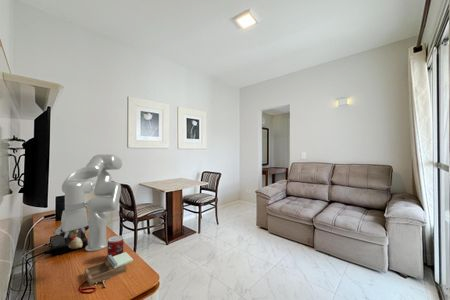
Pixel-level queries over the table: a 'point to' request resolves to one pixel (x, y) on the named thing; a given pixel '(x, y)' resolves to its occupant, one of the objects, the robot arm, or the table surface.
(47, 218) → the table surface
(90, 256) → the table surface
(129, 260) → the lid
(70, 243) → the chocolate bunny
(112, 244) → the canned food
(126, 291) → the table surface
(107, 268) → the compartment box
